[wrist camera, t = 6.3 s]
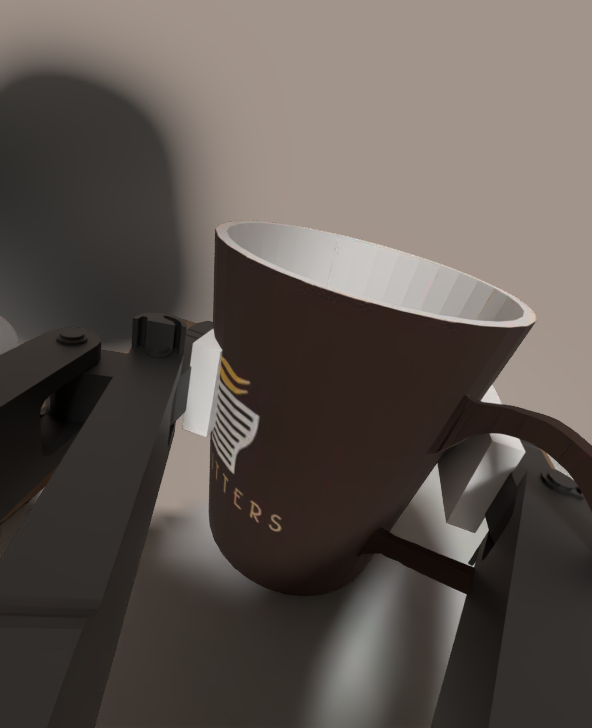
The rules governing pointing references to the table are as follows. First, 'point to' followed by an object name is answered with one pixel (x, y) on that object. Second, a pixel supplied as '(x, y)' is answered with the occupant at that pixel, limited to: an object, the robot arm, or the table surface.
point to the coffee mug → (350, 400)
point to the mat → (7, 336)
